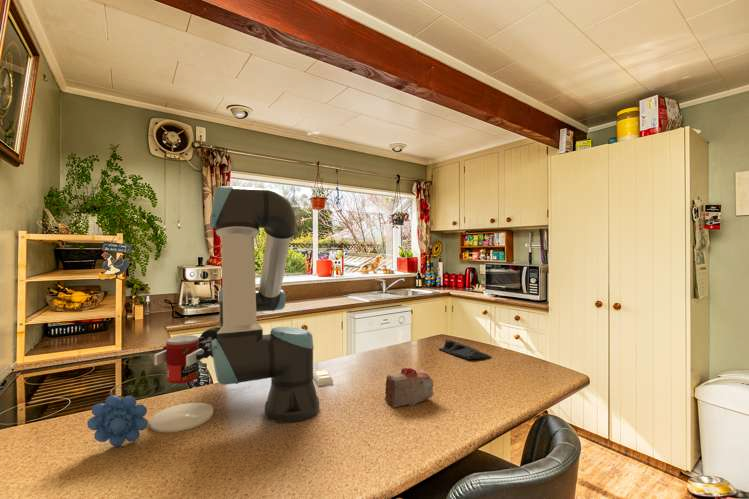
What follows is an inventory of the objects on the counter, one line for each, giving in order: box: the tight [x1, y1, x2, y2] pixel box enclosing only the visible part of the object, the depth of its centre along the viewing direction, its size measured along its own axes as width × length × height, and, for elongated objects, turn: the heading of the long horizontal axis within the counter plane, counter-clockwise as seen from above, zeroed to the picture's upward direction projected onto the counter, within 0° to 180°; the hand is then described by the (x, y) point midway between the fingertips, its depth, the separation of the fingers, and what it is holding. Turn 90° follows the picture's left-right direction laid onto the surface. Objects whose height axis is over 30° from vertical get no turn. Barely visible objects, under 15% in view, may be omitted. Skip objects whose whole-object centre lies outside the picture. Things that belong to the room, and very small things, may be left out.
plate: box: [149, 402, 214, 434], centre depth 97 cm, size 15×15×1 cm
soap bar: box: [313, 369, 334, 387], centre depth 126 cm, size 5×9×3 cm, turn 21°
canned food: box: [165, 334, 200, 385], centre depth 98 cm, size 8×8×11 cm
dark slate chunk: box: [438, 339, 493, 361], centre depth 159 cm, size 15×22×5 cm
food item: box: [384, 367, 434, 408], centre depth 109 cm, size 14×8×10 cm, turn 117°
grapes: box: [86, 394, 149, 447], centre depth 83 cm, size 12×7×12 cm, turn 122°
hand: (171, 360), depth 93 cm, fingers closed on canned food, 8 cm apart
